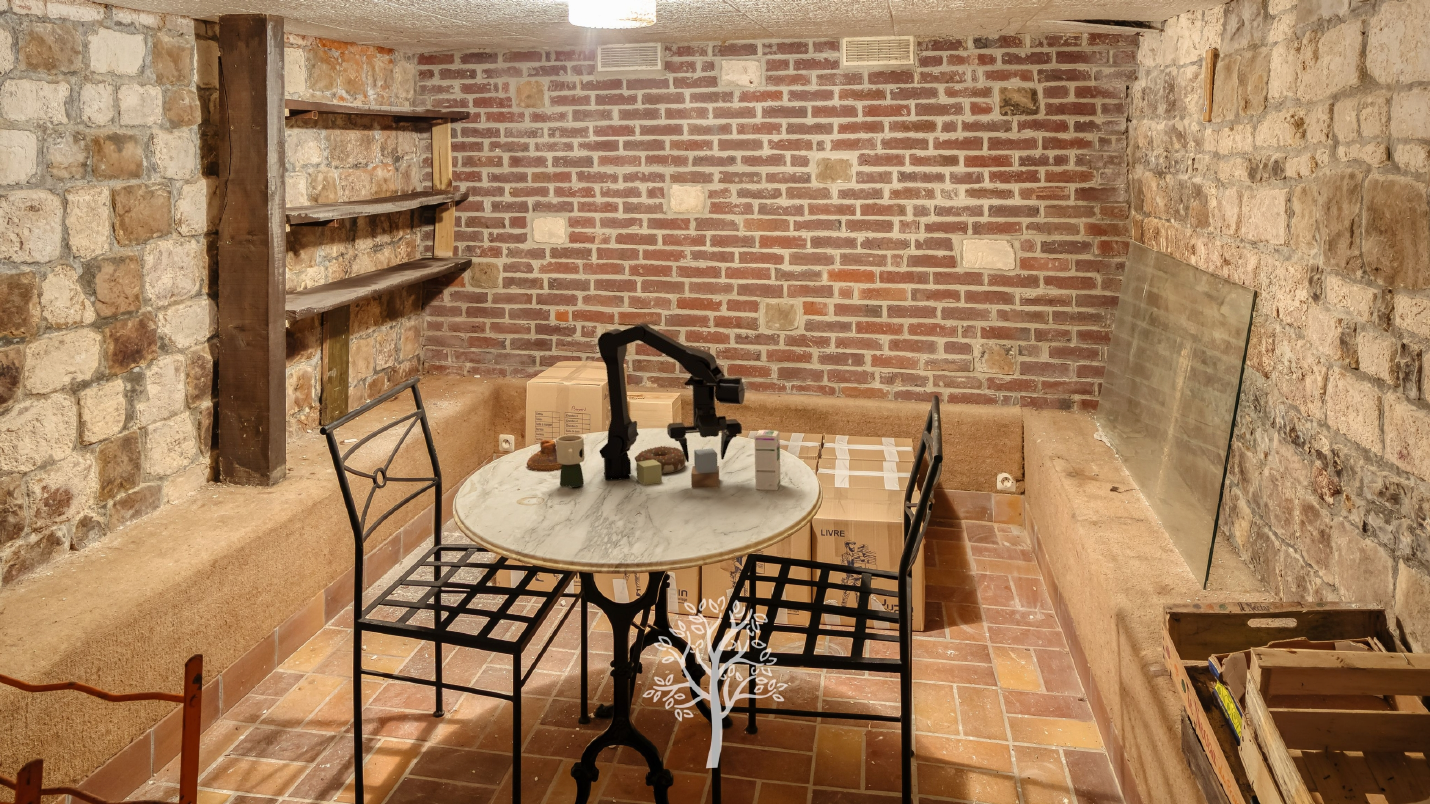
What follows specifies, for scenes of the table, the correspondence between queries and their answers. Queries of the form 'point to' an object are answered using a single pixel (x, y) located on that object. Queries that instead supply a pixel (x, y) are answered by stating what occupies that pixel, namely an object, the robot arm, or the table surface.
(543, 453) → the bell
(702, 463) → the slate cube
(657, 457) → the donut
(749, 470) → the table surface
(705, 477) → the walnut slab
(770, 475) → the syrup box
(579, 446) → the character mug
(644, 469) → the olive cube
